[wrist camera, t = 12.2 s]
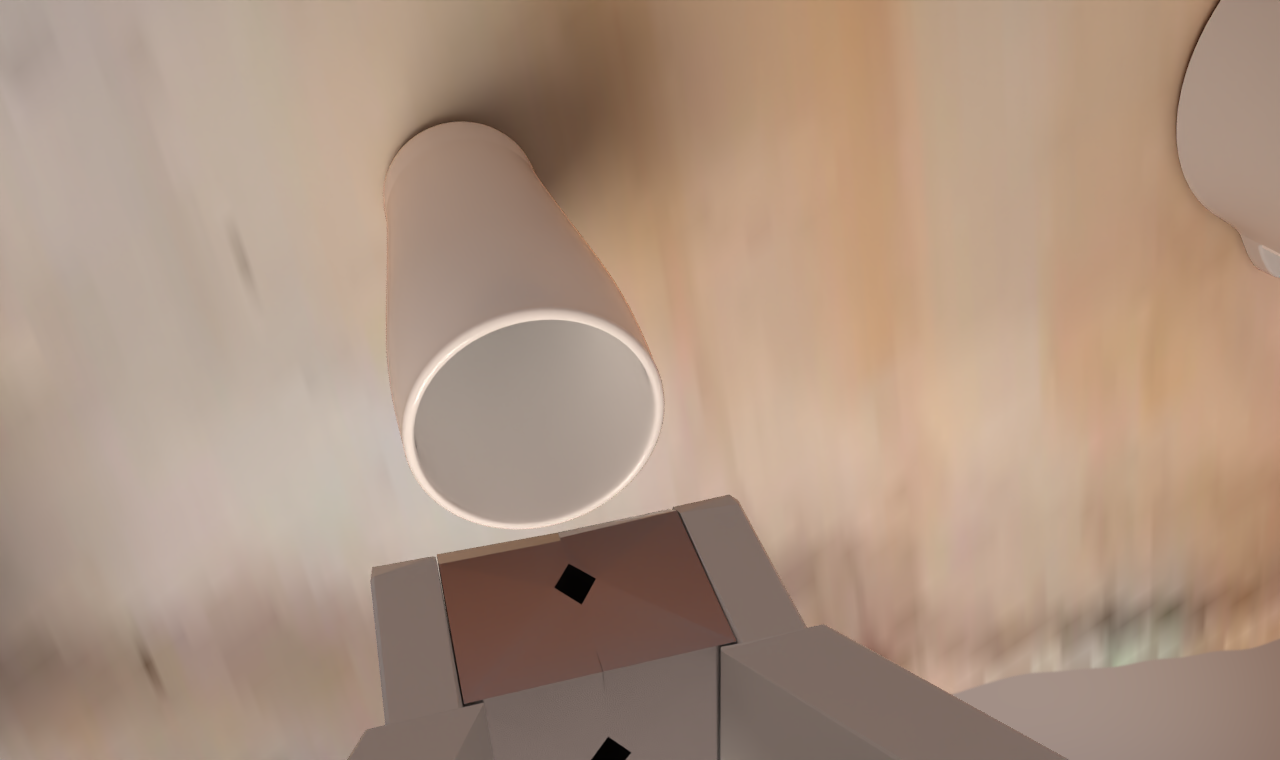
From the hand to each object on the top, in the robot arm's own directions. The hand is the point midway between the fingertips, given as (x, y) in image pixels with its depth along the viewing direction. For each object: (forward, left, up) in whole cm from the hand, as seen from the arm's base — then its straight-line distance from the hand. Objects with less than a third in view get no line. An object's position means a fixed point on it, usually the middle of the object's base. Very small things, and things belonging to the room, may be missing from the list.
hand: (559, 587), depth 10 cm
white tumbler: (-2, +10, -31) cm, 33 cm away
